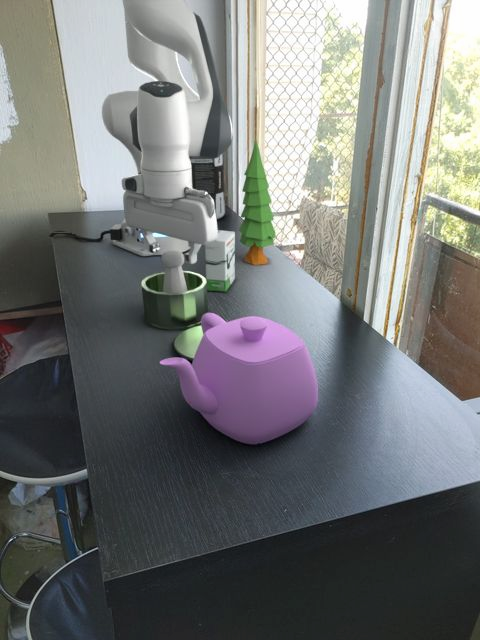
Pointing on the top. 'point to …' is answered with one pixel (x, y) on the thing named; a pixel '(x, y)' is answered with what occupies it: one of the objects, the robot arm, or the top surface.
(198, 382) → the teapot
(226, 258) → the ink box
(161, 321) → the bowl
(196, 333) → the lid
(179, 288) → the salt shaker
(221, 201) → the supplement tub
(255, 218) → the decorative tree
